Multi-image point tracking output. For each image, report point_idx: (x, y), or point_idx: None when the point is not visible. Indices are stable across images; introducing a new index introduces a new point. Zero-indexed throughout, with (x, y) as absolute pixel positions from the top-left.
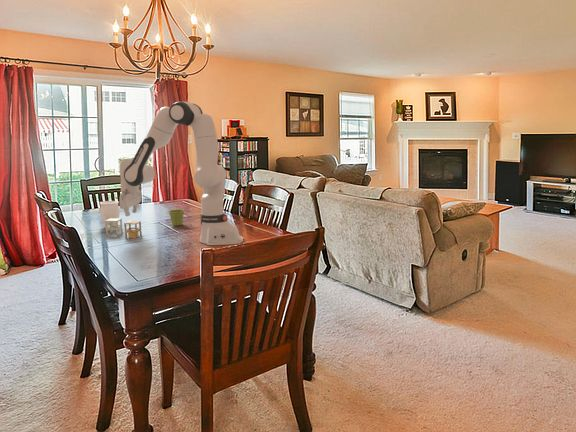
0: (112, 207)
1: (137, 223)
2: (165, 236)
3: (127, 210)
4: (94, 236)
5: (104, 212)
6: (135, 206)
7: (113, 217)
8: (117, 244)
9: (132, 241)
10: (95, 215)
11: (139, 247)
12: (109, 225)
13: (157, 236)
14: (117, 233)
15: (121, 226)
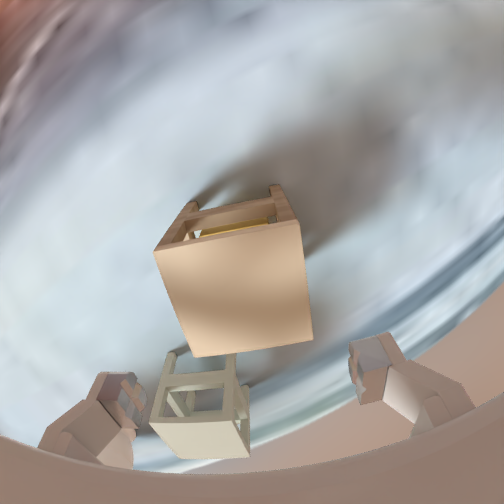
0: None
1: (256, 227)
2: (178, 10)
3: (453, 384)
4: (282, 411)
5: None
6: (78, 438)
7: (104, 450)
8: (440, 222)
9: (373, 167)
10: None
11: (473, 67)
12: (125, 432)
13: (190, 62)
14: (235, 354)
15: (170, 381)
